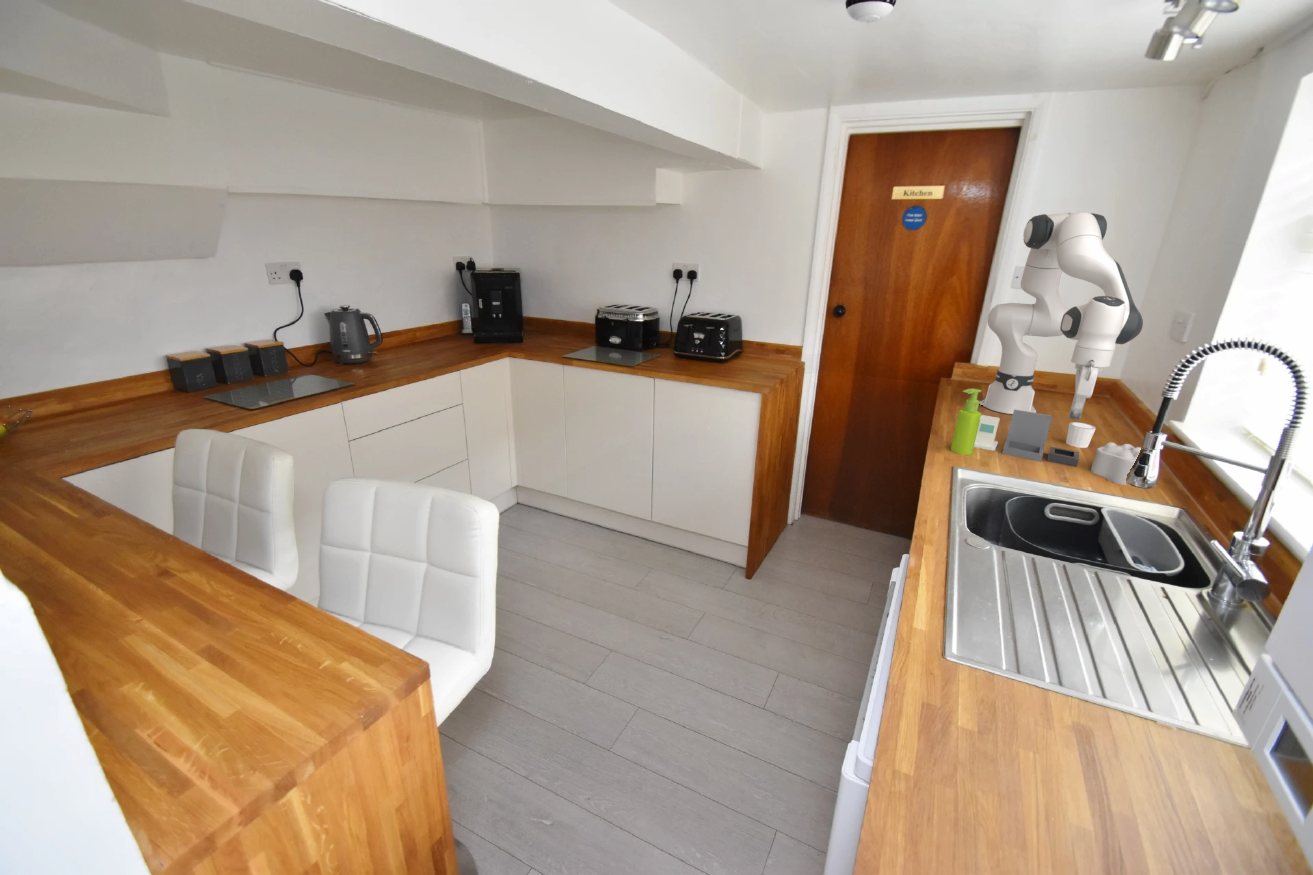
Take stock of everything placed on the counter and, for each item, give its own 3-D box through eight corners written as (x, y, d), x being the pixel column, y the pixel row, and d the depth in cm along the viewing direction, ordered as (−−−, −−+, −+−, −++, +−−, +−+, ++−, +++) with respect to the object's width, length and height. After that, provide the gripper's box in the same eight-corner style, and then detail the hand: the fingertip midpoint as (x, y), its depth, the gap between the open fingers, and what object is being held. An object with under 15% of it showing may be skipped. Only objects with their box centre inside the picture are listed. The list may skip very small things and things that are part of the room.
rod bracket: (1047, 455, 172) (1050, 446, 171) (1076, 461, 169) (1078, 451, 168) (1046, 463, 167) (1049, 453, 166) (1075, 468, 163) (1078, 459, 162)
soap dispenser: (943, 451, 174) (957, 387, 167) (959, 448, 177) (973, 385, 170) (959, 458, 169) (974, 393, 162) (976, 455, 172) (991, 391, 165)
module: (976, 438, 182) (981, 414, 179) (994, 442, 179) (1000, 418, 176) (973, 443, 178) (979, 419, 175) (992, 447, 175) (998, 422, 172)
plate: (972, 440, 184) (973, 436, 183) (997, 445, 180) (998, 441, 180) (968, 447, 178) (969, 443, 177) (994, 452, 174) (995, 449, 173)
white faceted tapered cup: (1066, 440, 185) (1072, 420, 183) (1091, 446, 181) (1098, 425, 178) (1060, 445, 181) (1067, 425, 178) (1087, 451, 176) (1093, 430, 174)
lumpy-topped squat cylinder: (1084, 472, 161) (1093, 443, 158) (1111, 465, 167) (1120, 437, 164) (1125, 487, 153) (1135, 457, 150) (1152, 479, 158) (1162, 450, 155)
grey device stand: (1004, 445, 180) (1014, 409, 175) (1042, 453, 174) (1052, 415, 170) (1001, 455, 172) (1011, 417, 168) (1040, 463, 167) (1051, 424, 162)
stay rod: (1080, 417, 163) (1088, 390, 161) (1080, 420, 161) (1088, 392, 158) (1068, 415, 165) (1076, 389, 162) (1068, 418, 163) (1075, 391, 160)
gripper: (1107, 366, 147) (1092, 417, 152) (1104, 353, 163) (1090, 400, 168) (1077, 362, 151) (1063, 412, 155) (1078, 350, 166) (1065, 396, 171)
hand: (1077, 405), depth 162 cm, fingers closed on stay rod, 3 cm apart
